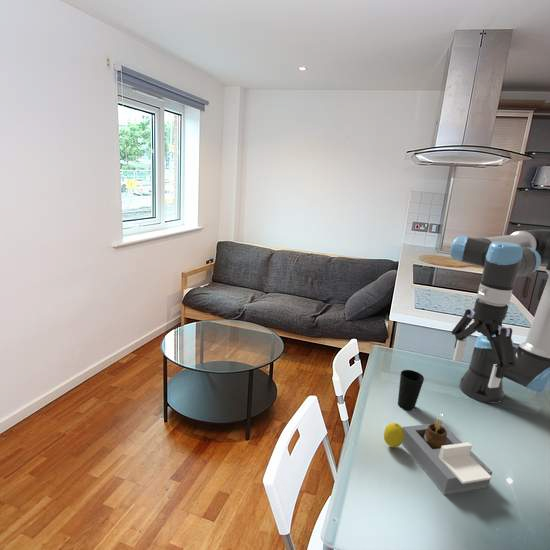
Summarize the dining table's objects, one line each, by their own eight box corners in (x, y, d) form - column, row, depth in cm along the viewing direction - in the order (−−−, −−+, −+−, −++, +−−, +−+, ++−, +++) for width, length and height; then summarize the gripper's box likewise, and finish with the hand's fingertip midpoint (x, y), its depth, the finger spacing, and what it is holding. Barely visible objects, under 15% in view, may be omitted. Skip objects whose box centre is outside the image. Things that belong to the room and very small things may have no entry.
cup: (418, 414, 130) (426, 383, 127) (395, 409, 131) (402, 379, 128) (415, 401, 137) (422, 372, 134) (393, 397, 138) (399, 368, 135)
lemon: (401, 443, 115) (406, 420, 113) (400, 455, 110) (405, 432, 108) (382, 437, 116) (387, 415, 114) (381, 449, 111) (385, 426, 109)
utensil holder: (445, 448, 113) (454, 413, 110) (440, 460, 108) (449, 424, 105) (425, 439, 116) (433, 405, 113) (419, 450, 111) (427, 415, 108)
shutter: (465, 453, 106) (469, 442, 105) (491, 479, 97) (495, 466, 96) (438, 457, 103) (441, 445, 102) (462, 483, 95) (465, 471, 94)
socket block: (438, 436, 120) (441, 422, 118) (487, 487, 101) (492, 471, 100) (399, 440, 116) (402, 426, 114) (443, 494, 97) (448, 478, 96)
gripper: (448, 286, 110) (434, 352, 116) (520, 321, 87) (498, 401, 93) (470, 285, 112) (455, 350, 118) (546, 320, 89) (523, 398, 95)
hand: (474, 373), depth 106 cm, fingers open, 13 cm apart
